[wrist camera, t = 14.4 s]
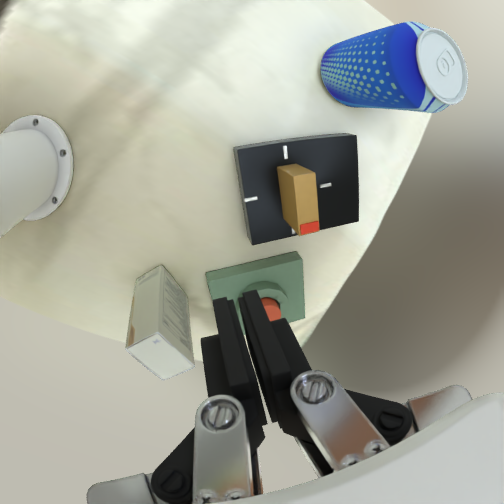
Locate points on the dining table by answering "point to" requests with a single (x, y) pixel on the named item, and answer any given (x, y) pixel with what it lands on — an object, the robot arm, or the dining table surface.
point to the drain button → (271, 308)
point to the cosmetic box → (160, 325)
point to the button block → (264, 283)
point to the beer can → (397, 69)
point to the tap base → (310, 157)
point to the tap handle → (299, 198)
